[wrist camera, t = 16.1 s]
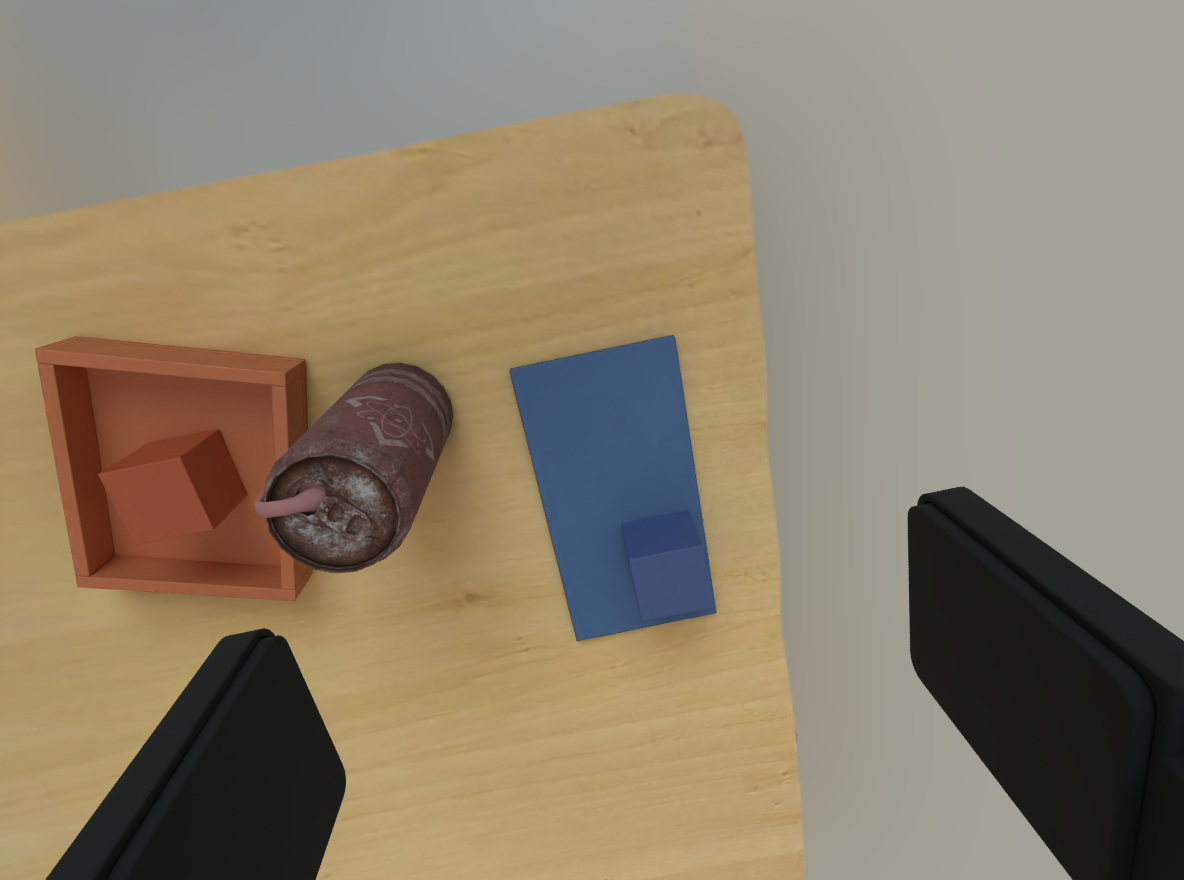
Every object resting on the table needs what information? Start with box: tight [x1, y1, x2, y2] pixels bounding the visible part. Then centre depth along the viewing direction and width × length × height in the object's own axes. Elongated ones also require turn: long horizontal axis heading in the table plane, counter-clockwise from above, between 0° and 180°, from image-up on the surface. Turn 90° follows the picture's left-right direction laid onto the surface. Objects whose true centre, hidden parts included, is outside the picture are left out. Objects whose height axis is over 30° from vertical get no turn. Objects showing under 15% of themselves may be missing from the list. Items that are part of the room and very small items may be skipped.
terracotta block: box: [98, 429, 247, 546], centre depth 37 cm, size 4×4×4 cm
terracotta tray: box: [35, 337, 312, 601], centre depth 39 cm, size 15×13×3 cm
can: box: [254, 363, 453, 573], centre depth 33 cm, size 6×6×14 cm
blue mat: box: [510, 335, 716, 641], centre depth 42 cm, size 20×10×1 cm, turn 11°
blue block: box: [621, 511, 713, 621], centre depth 41 cm, size 4×4×4 cm
